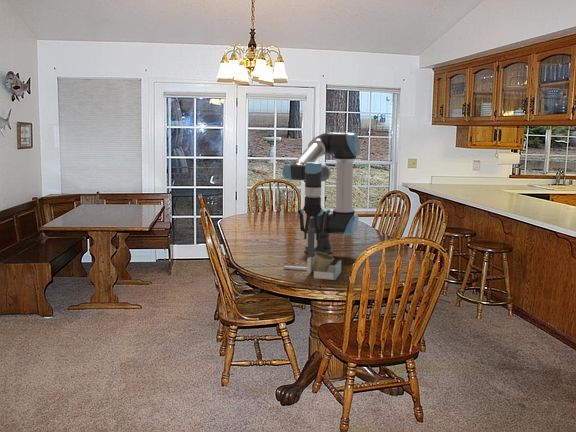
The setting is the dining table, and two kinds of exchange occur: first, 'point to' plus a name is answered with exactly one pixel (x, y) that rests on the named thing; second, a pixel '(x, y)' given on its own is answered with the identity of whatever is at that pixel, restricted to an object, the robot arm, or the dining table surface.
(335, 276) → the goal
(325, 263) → the flower pot
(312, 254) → the paddle
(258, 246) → the dining table surface
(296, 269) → the track
